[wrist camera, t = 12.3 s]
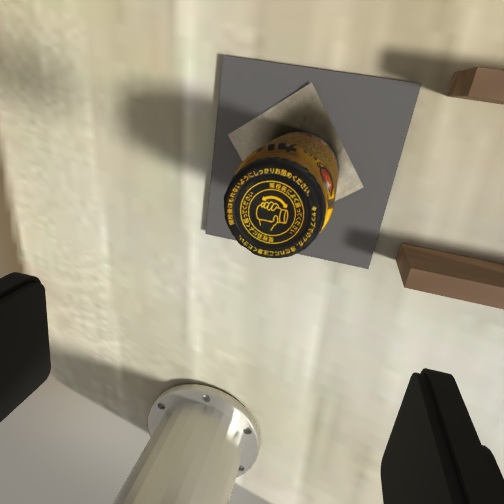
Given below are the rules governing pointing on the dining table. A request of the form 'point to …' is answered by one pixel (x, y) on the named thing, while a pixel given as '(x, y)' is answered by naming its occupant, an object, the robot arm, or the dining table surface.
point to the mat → (348, 129)
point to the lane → (451, 265)
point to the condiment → (287, 177)
